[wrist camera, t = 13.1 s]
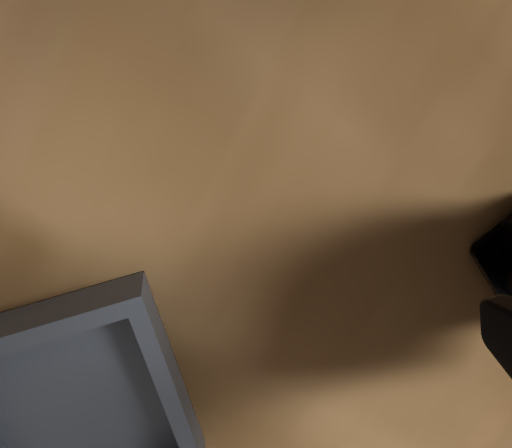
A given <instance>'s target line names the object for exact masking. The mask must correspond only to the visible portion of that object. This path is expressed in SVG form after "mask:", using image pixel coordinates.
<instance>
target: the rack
mask: <svg viewBox="0 0 512 448" xmlns="http://www.w3.org/2000/svg"><path fill="white" fill-rule="evenodd" d="M0 448H205V441H204V437H203V434H202V431H201V429H200V426H199V423H198V420H197V418H196V415H195V412H194V409H193V406H192V404H191V401H190V398H189V395H188V393H187V390H186V387H185V384H184V381H183V379H182V376H181V373H180V370H179V368H178V365H177V362H176V359H175V356H174V354H173V351H172V348H171V345H170V343H169V340H168V337H167V334H166V332H165V329H164V326H163V323H162V320H161V318H160V315H159V312H158V309H157V307H156V304H155V301H154V298H153V295H152V293H151V290H150V287H149V284H148V282H147V279H146V276H145V273H144V271H142V272H139V273H135V274H132V275H128V276H125V277H122V278H118V279H115V280H111V281H108V282H104V283H101V284H98V285H94V286H91V287H87V288H84V289H80V290H77V291H74V292H70V293H67V294H63V295H60V296H56V297H53V298H50V299H46V300H43V301H39V302H36V303H32V304H29V305H26V306H22V307H19V308H15V309H12V310H8V311H5V312H2V313H0Z"/></svg>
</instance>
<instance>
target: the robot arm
mask: <svg viewBox="0 0 512 448" xmlns="http://www.w3.org/2000/svg"><path fill="white" fill-rule="evenodd" d="M482 248H483V251H482V252H481V253H480V250H481V249H482ZM471 255H472V257H473V258H474V260H475V262H476V263H477V265H478V267H479V268H480V270H481V271H482V273H483V275H484V276H485V278H486V280H487V281H488V283H489V284H490V286H491V288H492V289H493V291H494V293H495V294H496V295H495V296H492V297H489V298H486V299H483V300H482V301H481V303H480V323H481V335H482V339H483V341H484V343H485V345H486V347H487V348H488V349H489V351H490V352H491V353H492V354H493V356H494V357H495V358H496V360H497V361H498V362H499V363H500V365H501V366H502V367H503V369H504V370H505V371H506V372H507V374H508V375H509V376H510V378H511V379H512V215H510V216H509V217H508V218H507V219H505V220H504V221H503V222H501V223H500V224H499V225H497V226H496V227H495V228H493V229H492V230H491V231H490V232H488V233H487V234H486V235H484V236H483V237H482V238H480V239H479V240H478V241H476V242H475V243H474V244H473V245H472V247H471Z"/></svg>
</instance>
